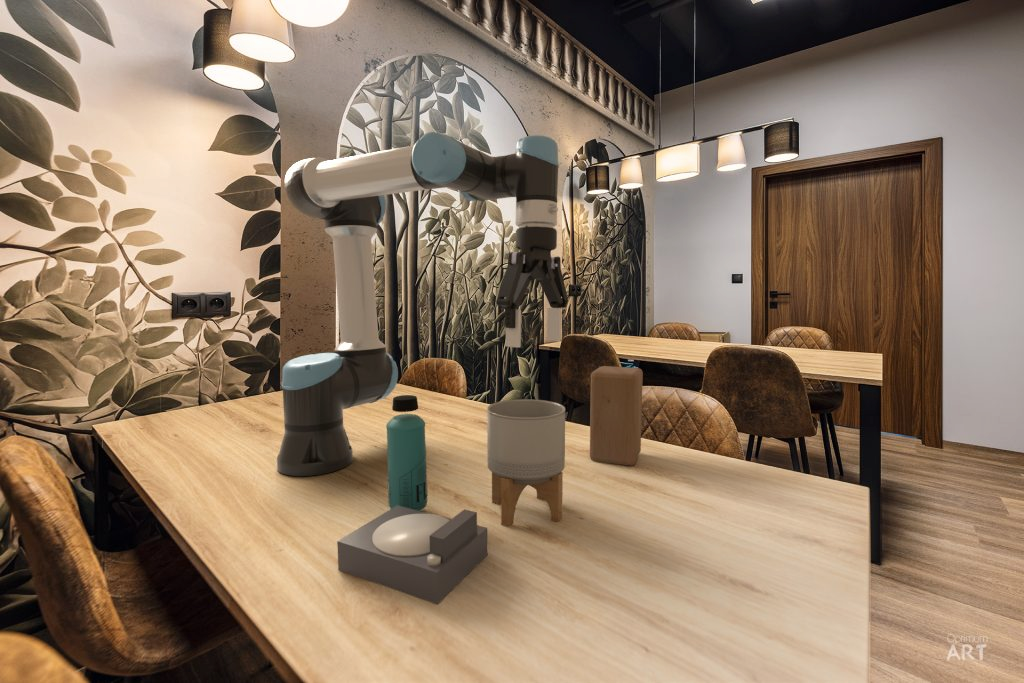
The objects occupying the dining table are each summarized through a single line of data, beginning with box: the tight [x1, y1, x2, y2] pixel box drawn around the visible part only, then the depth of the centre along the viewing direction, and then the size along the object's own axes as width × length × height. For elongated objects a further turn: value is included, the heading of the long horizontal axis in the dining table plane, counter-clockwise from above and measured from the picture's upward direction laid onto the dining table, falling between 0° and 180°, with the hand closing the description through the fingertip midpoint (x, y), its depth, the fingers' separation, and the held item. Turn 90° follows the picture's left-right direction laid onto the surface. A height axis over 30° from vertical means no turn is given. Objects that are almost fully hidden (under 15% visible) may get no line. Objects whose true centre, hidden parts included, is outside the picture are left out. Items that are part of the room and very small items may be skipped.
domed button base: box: [336, 505, 489, 605], centre depth 65 cm, size 16×12×7 cm
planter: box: [486, 398, 566, 528], centre depth 80 cm, size 13×13×18 cm
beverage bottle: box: [385, 394, 429, 511], centre depth 78 cm, size 6×7×20 cm
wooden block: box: [589, 365, 644, 466], centre depth 106 cm, size 10×10×20 cm
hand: (534, 343), depth 89 cm, fingers open, 13 cm apart
